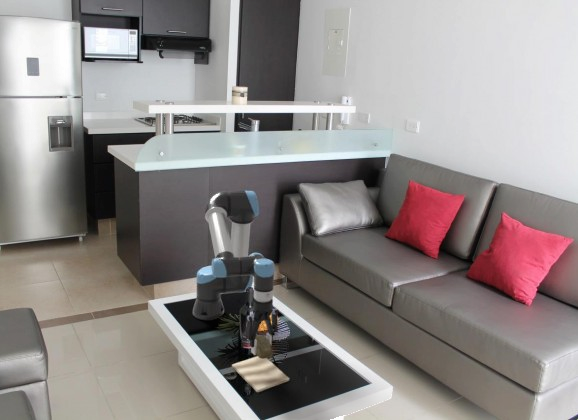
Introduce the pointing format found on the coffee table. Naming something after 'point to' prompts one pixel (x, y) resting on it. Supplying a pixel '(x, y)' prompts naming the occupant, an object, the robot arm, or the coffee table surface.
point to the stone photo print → (260, 373)
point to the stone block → (263, 347)
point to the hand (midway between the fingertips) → (261, 350)
